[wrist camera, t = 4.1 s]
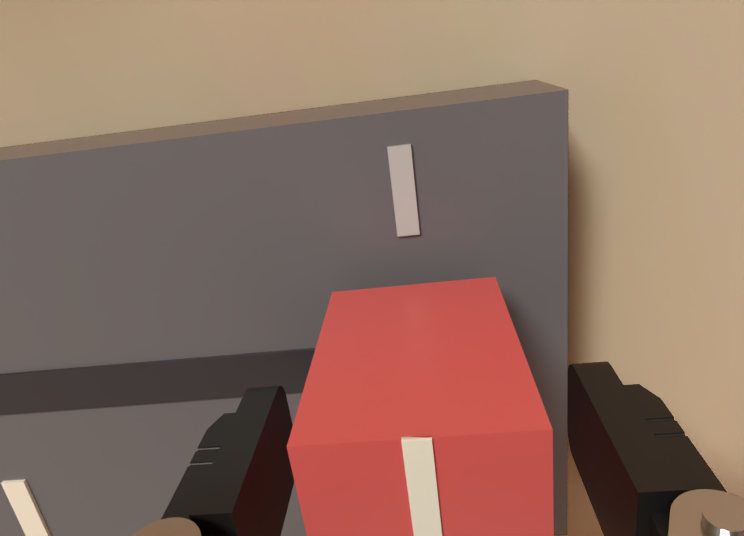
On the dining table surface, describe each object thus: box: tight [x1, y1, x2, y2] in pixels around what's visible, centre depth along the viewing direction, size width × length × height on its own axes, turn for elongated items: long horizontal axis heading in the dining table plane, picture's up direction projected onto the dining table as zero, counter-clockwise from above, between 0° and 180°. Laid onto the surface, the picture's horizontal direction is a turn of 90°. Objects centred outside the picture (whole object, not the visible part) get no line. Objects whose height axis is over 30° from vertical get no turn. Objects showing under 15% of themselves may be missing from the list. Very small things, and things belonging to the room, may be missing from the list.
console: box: [0, 80, 568, 536], centre depth 16 cm, size 23×12×3 cm, turn 97°
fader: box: [287, 277, 554, 536], centre depth 11 cm, size 4×5×6 cm
